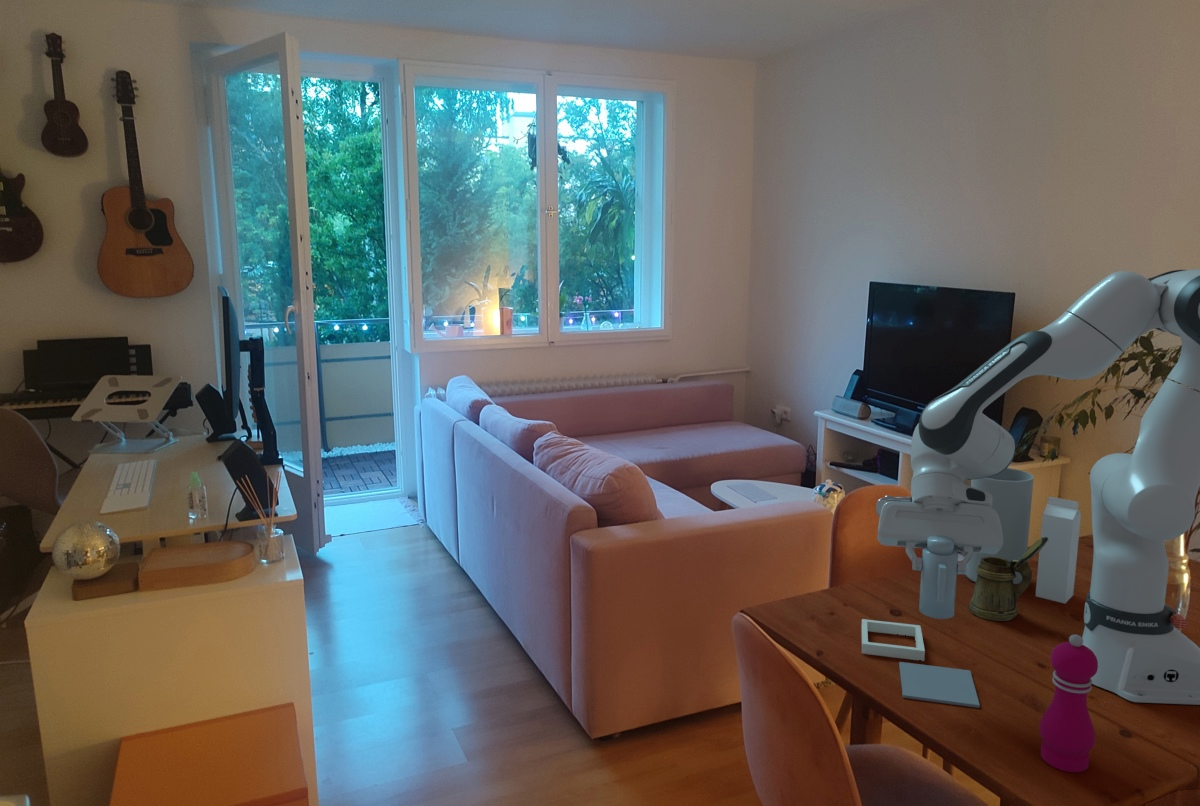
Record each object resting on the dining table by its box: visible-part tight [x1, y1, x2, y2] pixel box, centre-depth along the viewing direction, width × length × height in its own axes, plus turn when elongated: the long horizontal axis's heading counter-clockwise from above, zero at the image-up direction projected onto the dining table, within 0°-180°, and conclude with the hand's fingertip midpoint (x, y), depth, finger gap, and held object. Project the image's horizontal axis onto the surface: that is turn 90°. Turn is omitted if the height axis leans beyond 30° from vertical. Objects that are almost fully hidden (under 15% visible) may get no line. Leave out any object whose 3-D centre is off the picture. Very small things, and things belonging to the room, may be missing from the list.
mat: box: [898, 661, 981, 709], centre depth 145 cm, size 12×12×1 cm
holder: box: [861, 618, 926, 662], centre depth 160 cm, size 11×11×2 cm
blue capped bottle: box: [918, 536, 959, 620], centre depth 141 cm, size 6×8×13 cm
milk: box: [1035, 496, 1082, 605], centre depth 179 cm, size 6×6×22 cm
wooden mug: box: [968, 537, 1048, 622], centre depth 171 cm, size 9×14×18 cm, turn 60°
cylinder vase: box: [965, 467, 1035, 584], centre depth 189 cm, size 12×12×25 cm
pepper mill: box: [1038, 634, 1098, 773], centre depth 122 cm, size 7×7×20 cm
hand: (939, 571), depth 141 cm, fingers closed on blue capped bottle, 6 cm apart
